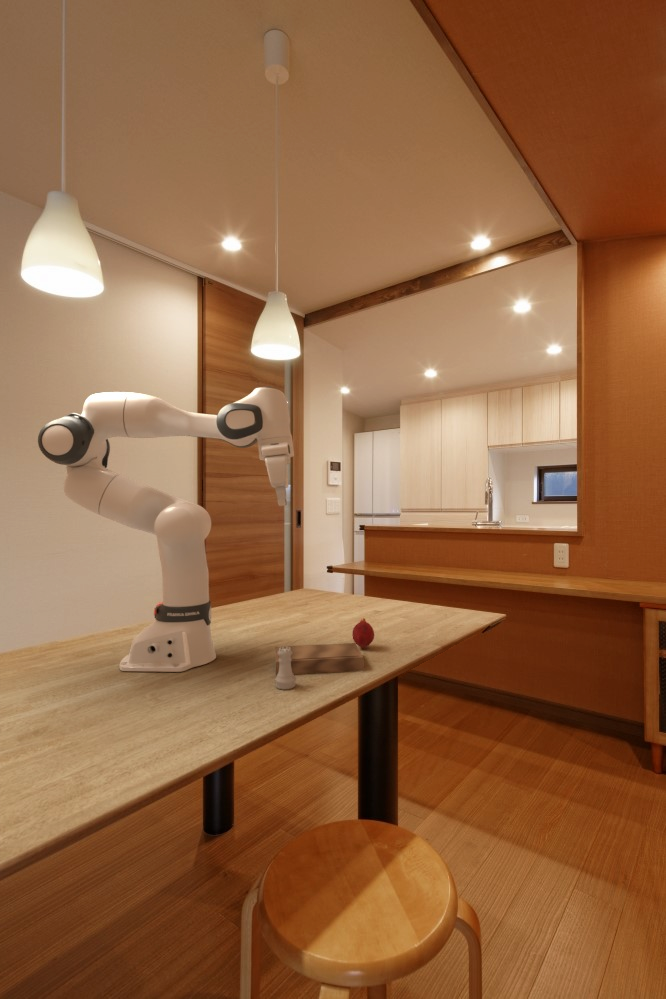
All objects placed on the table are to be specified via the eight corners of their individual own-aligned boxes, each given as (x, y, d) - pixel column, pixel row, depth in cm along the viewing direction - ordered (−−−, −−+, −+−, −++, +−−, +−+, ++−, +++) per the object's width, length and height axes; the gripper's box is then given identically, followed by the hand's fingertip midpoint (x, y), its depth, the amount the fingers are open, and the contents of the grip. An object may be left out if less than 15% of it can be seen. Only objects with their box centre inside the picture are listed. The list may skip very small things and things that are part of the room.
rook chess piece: (287, 691, 101) (286, 652, 101) (270, 687, 103) (269, 649, 103) (300, 684, 105) (299, 647, 105) (283, 681, 107) (283, 644, 107)
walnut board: (275, 675, 111) (275, 661, 111) (275, 658, 123) (275, 646, 123) (363, 670, 113) (363, 656, 113) (355, 654, 125) (355, 642, 125)
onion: (375, 651, 127) (374, 620, 127) (352, 652, 127) (352, 620, 127) (373, 645, 133) (373, 615, 133) (352, 645, 133) (351, 615, 133)
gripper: (266, 456, 135) (272, 506, 135) (260, 448, 115) (267, 507, 115) (289, 454, 135) (295, 504, 135) (287, 445, 115) (294, 504, 115)
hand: (282, 505), depth 125 cm, fingers open, 8 cm apart
